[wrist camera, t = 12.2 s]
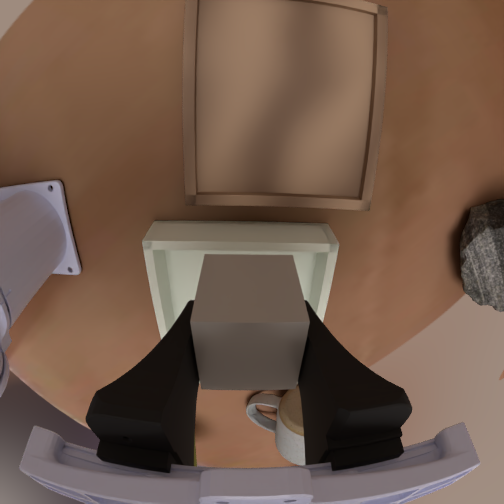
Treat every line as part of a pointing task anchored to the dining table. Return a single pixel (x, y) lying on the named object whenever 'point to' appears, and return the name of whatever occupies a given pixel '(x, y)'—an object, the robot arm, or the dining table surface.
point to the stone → (249, 322)
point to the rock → (484, 255)
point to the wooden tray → (283, 102)
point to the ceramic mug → (282, 422)
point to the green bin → (233, 242)
